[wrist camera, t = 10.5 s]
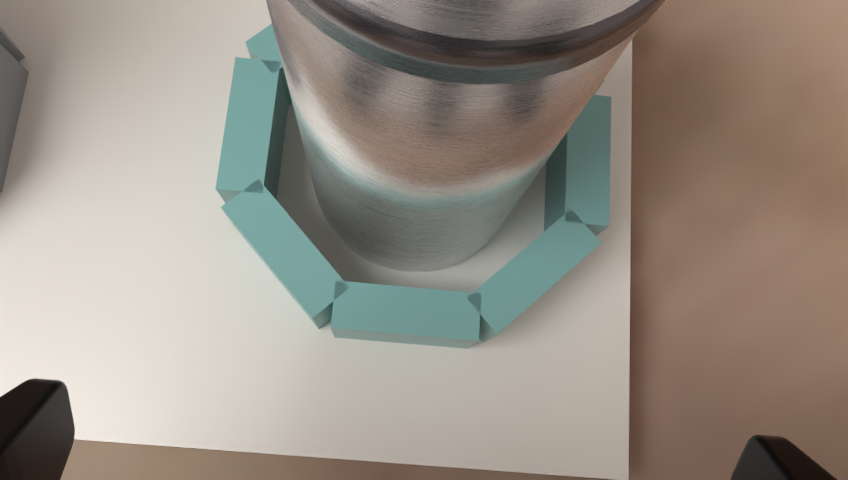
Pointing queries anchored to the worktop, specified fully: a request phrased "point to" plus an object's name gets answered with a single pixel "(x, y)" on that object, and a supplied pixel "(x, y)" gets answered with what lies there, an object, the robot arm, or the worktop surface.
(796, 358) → the worktop surface
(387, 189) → the cylinder
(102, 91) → the pallet
